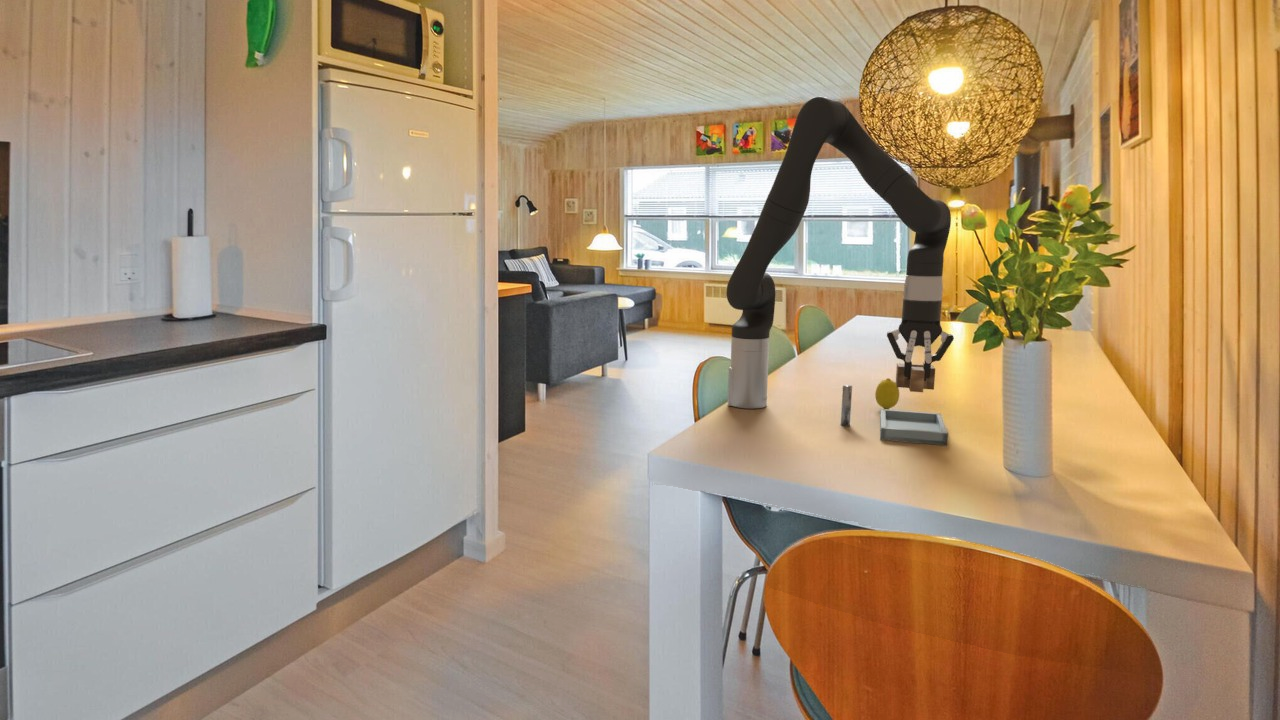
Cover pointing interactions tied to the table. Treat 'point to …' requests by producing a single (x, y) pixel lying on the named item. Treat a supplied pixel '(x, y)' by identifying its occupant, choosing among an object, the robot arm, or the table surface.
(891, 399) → the lemon
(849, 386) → the peg
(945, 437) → the tray
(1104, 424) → the table surface
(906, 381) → the collar
